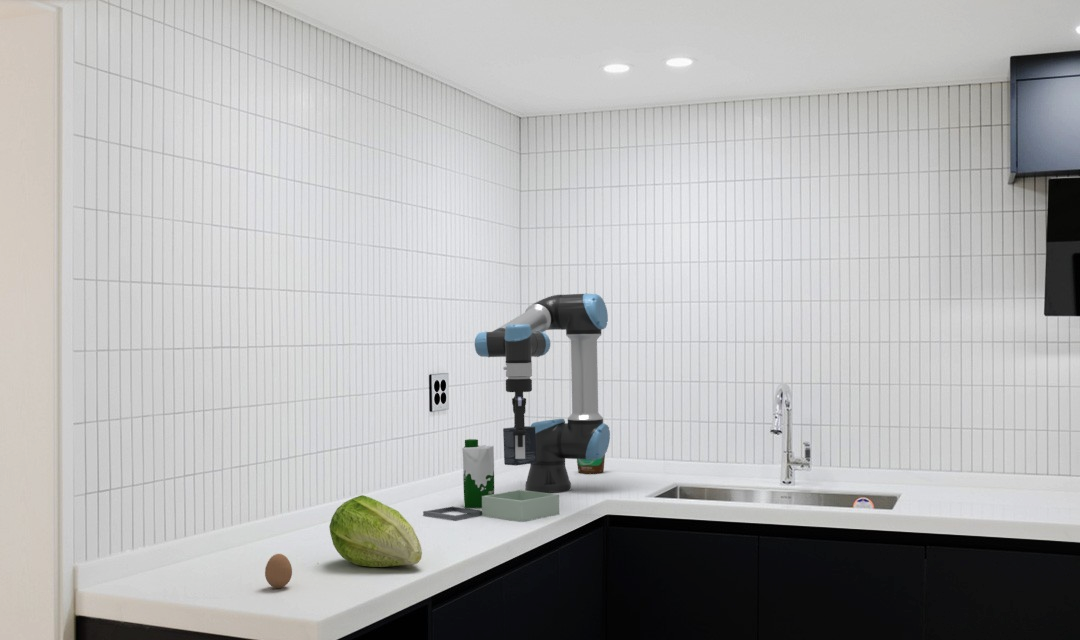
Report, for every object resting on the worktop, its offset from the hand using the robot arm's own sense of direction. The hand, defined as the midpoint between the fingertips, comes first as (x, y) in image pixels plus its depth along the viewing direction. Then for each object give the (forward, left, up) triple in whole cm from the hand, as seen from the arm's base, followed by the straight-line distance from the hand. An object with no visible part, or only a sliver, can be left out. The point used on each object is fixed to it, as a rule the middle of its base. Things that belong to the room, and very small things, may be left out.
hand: (519, 456), depth 302 cm
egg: (+95, +21, -17) cm, 99 cm away
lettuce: (+68, +20, -17) cm, 73 cm away
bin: (0, 0, -17) cm, 17 cm away
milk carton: (-4, -21, -17) cm, 27 cm away
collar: (+12, -15, -17) cm, 25 cm away
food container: (-82, -42, -17) cm, 94 cm away
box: (0, 0, -2) cm, 2 cm away
